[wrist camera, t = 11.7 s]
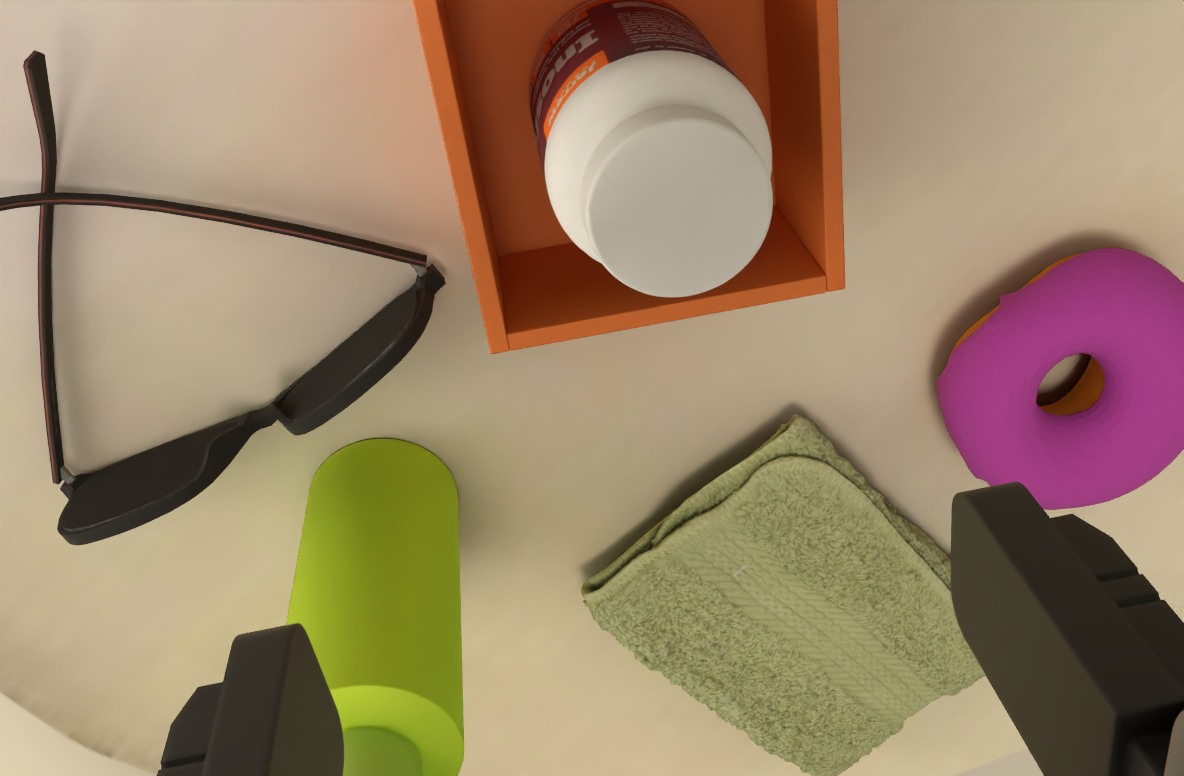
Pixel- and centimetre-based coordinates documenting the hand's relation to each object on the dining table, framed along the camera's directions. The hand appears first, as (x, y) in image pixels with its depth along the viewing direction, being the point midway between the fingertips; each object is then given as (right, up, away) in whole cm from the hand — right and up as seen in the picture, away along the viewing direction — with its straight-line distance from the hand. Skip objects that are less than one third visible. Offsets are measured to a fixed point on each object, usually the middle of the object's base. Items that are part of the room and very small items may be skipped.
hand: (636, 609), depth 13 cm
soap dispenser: (-8, -2, +31) cm, 32 cm away
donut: (+18, +4, +31) cm, 36 cm away
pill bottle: (0, +13, +23) cm, 26 cm away
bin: (0, +13, +23) cm, 27 cm away
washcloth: (+9, -6, +36) cm, 38 cm away
